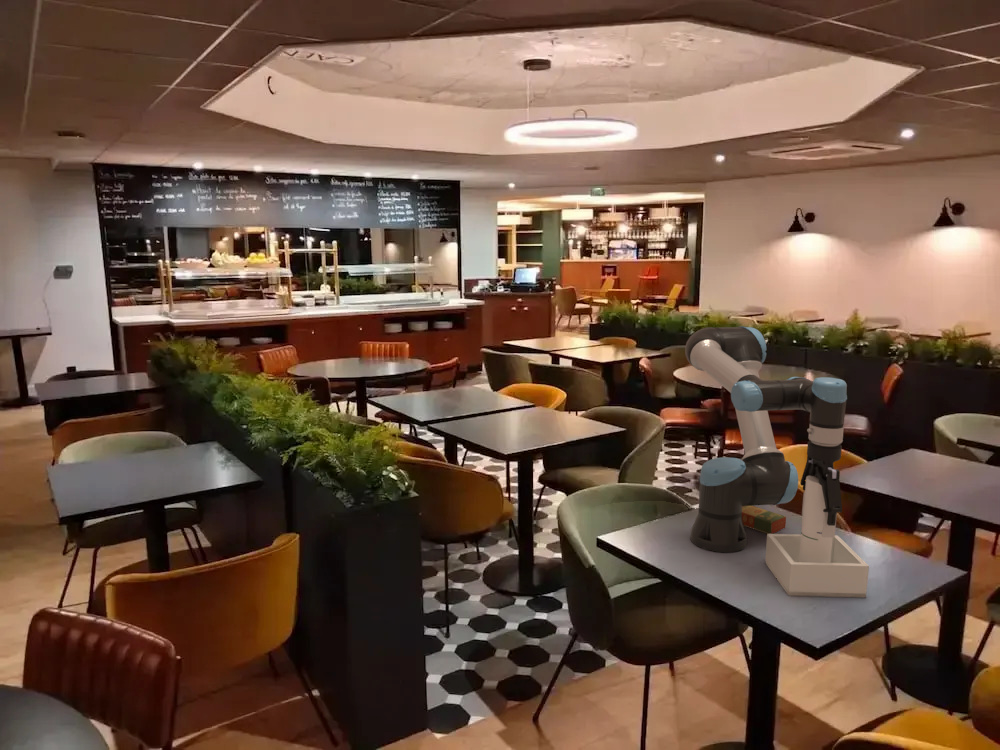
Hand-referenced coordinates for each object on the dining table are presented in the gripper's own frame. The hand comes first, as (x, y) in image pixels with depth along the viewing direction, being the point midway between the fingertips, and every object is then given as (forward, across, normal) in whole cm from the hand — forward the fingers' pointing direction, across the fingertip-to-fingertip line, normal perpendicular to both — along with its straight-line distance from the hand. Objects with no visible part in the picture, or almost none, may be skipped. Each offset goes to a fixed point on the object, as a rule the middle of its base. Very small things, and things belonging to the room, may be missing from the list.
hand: (817, 526), depth 178 cm
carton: (+15, -36, -4) cm, 39 cm away
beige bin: (+14, 0, 0) cm, 14 cm away
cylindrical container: (+13, 0, 0) cm, 13 cm away
